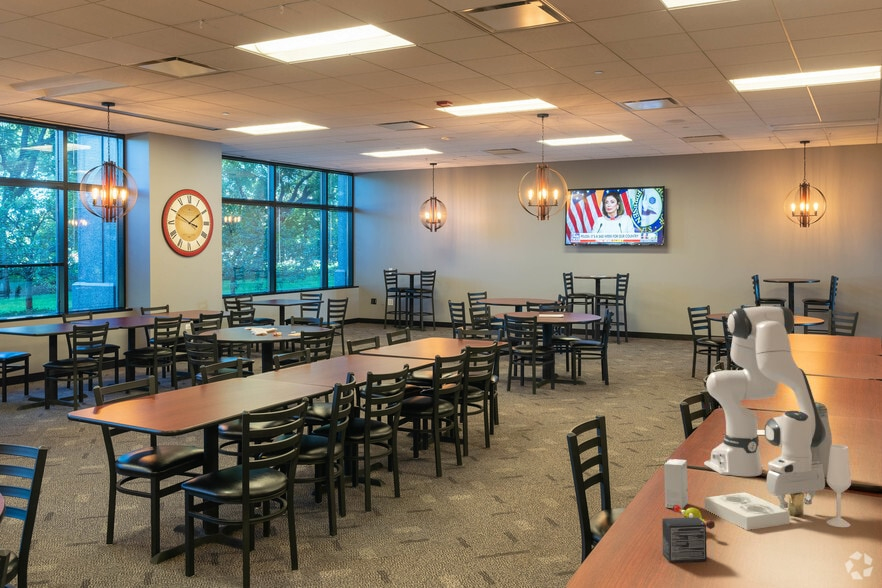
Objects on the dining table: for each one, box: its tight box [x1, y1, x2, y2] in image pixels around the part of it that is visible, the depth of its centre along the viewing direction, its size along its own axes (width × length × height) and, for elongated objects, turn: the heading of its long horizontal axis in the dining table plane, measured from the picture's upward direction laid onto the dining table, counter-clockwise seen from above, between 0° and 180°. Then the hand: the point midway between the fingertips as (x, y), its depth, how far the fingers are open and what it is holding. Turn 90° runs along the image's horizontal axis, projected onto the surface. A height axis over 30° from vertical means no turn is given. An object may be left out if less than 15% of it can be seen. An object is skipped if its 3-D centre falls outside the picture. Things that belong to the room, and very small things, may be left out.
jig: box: [704, 492, 791, 531], centre depth 244 cm, size 20×16×4 cm
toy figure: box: [671, 505, 716, 530], centre depth 233 cm, size 18×6×7 cm, turn 21°
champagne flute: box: [825, 444, 852, 528], centre depth 236 cm, size 7×7×24 cm
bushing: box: [787, 492, 805, 518], centre depth 245 cm, size 4×4×7 cm
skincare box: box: [663, 458, 689, 510], centre depth 255 cm, size 8×6×15 cm
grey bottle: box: [810, 401, 833, 478], centre depth 283 cm, size 10×10×28 cm
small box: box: [661, 517, 708, 564], centre depth 212 cm, size 11×6×10 cm, turn 92°
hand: (796, 505), depth 245 cm, fingers open, 8 cm apart
